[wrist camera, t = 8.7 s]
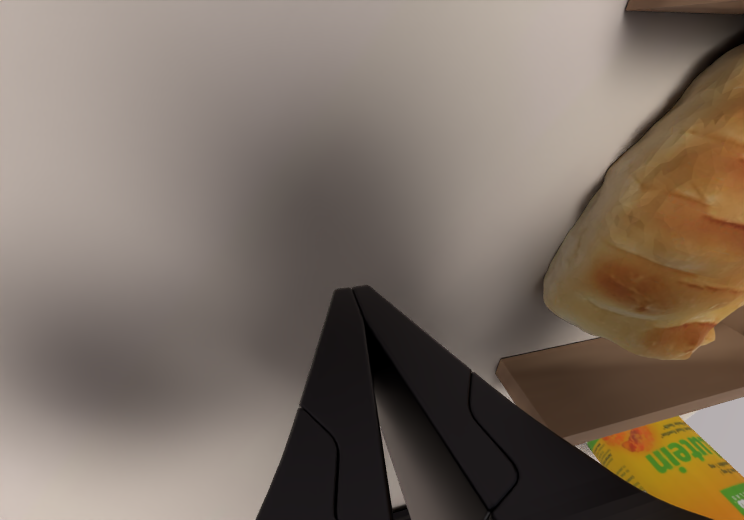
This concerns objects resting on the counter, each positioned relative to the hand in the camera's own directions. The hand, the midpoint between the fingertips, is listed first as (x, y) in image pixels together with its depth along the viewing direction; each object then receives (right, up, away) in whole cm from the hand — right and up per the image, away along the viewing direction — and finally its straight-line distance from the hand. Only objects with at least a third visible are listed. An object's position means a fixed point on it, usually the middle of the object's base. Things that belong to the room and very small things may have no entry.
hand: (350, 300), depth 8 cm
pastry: (+10, +3, +3) cm, 11 cm away
